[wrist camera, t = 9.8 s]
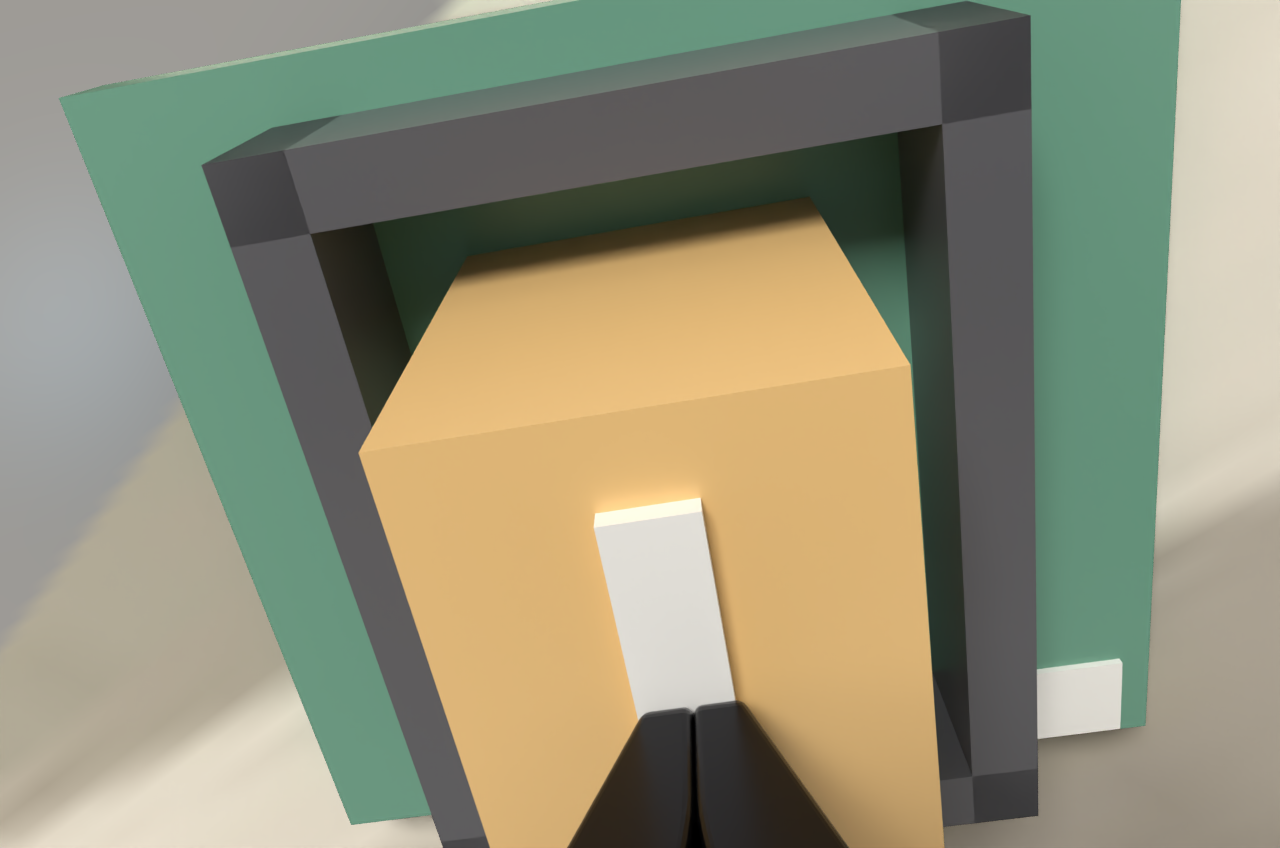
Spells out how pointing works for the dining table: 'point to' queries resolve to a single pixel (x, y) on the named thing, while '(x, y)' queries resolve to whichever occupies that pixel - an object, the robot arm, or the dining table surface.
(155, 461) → the dining table surface
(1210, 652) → the dining table surface
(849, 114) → the socket board
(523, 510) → the plug
